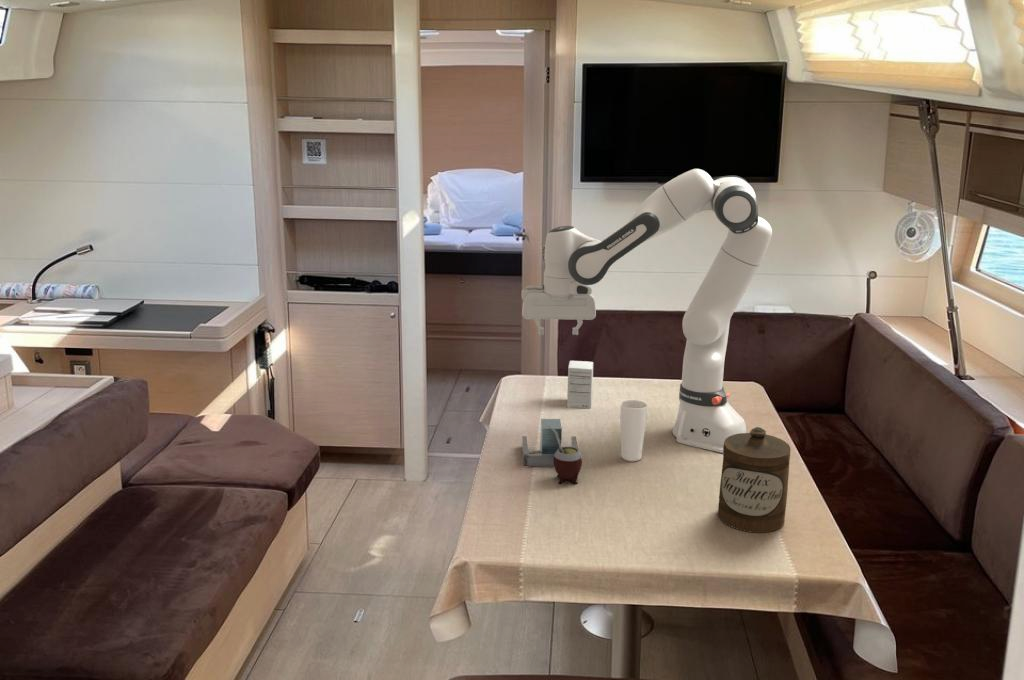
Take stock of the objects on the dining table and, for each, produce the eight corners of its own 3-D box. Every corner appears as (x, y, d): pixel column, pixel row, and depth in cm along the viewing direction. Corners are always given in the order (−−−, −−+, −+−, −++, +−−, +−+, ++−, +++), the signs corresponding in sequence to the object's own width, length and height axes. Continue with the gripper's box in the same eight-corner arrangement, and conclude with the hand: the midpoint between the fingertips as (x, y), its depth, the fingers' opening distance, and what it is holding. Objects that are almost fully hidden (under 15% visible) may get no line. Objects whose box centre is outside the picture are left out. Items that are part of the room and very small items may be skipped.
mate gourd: (587, 480, 237) (589, 423, 232) (566, 490, 231) (568, 432, 227) (564, 471, 242) (565, 416, 237) (543, 480, 236) (544, 424, 232)
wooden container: (712, 526, 214) (720, 434, 208) (723, 499, 228) (730, 412, 221) (780, 538, 209) (790, 445, 203) (787, 510, 222) (796, 422, 216)
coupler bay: (522, 446, 257) (522, 436, 256) (575, 446, 257) (575, 436, 256) (523, 466, 244) (523, 455, 243) (579, 466, 244) (580, 455, 244)
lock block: (540, 449, 255) (540, 417, 253) (558, 449, 255) (559, 417, 253) (541, 461, 248) (542, 428, 245) (560, 461, 248) (561, 428, 245)
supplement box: (568, 399, 293) (569, 360, 290) (592, 400, 292) (594, 361, 289) (566, 407, 286) (567, 367, 283) (591, 409, 285) (592, 368, 282)
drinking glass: (647, 455, 252) (650, 402, 248) (639, 465, 246) (642, 410, 242) (623, 451, 255) (625, 398, 250) (614, 460, 249) (617, 406, 245)
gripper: (521, 287, 257) (521, 337, 261) (597, 288, 257) (595, 337, 261) (521, 282, 263) (520, 330, 267) (595, 283, 263) (593, 331, 267)
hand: (558, 334), depth 264 cm, fingers open, 8 cm apart
